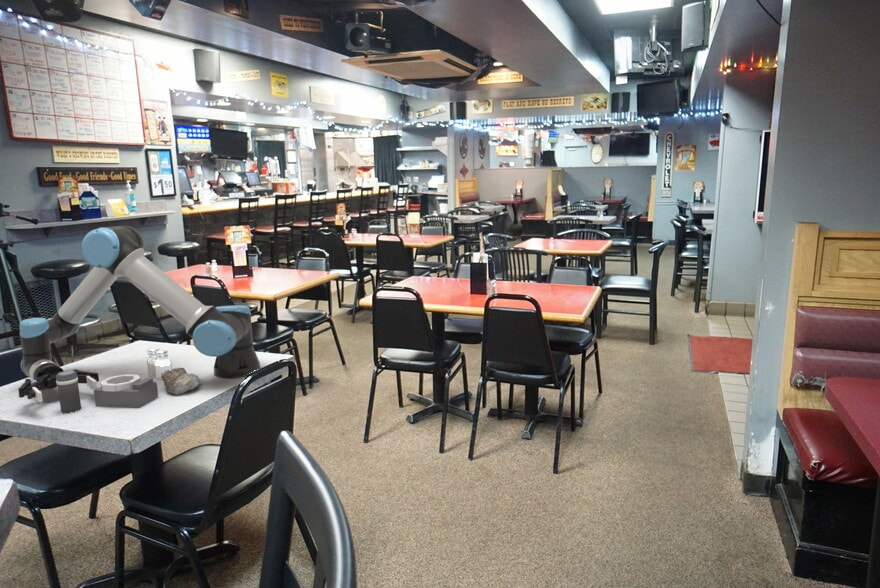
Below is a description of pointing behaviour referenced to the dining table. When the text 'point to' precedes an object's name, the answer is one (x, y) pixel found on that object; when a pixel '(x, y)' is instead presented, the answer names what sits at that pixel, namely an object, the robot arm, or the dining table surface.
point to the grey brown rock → (179, 381)
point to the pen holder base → (125, 391)
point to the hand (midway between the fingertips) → (69, 391)
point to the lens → (68, 391)
